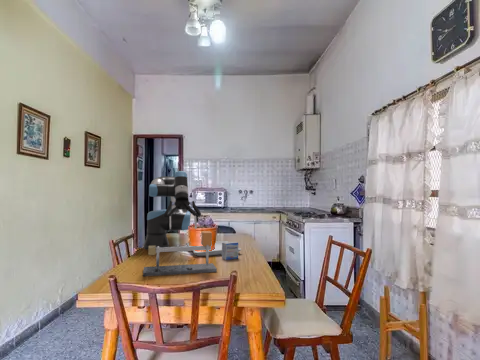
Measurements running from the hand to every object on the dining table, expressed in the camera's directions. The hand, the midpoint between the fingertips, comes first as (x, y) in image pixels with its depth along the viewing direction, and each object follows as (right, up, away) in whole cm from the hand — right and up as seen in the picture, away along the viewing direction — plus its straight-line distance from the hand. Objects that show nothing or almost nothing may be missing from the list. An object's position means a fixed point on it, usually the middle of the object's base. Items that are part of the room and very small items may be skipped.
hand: (183, 227), depth 171 cm
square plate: (+14, -17, +17) cm, 28 cm away
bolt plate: (+3, -16, -26) cm, 31 cm away
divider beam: (+3, -13, -27) cm, 30 cm away
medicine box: (+25, -17, 0) cm, 30 cm away
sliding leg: (+15, -14, -23) cm, 31 cm away
